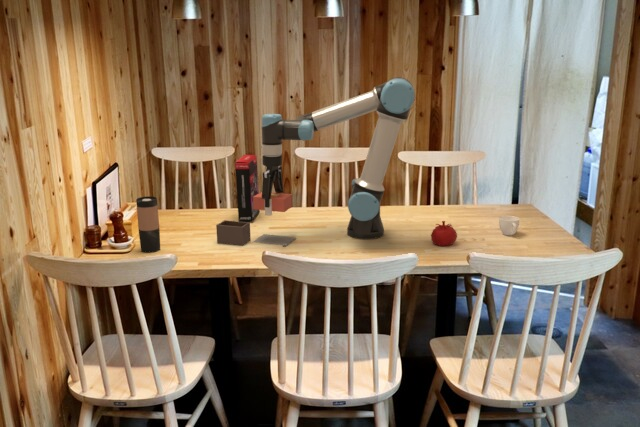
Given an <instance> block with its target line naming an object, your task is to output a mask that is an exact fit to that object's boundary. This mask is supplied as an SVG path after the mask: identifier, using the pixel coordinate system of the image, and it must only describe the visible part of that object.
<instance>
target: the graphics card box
mask: <svg viewBox="0 0 640 427" xmlns="http://www.w3.org/2000/svg"><path fill="white" fill-rule="evenodd" d="M234 166H235V167H234V168H235V184H236V198H237V200H236V201H237V214H238V218H237V219H238V222H249V223H253V222H254V221H255V219H256V218H257V217H258V215H259V213H260V211H261V210H255V209H253V197H254V196H255V195H257V194H259V193H260V192H259V178H258V157H257V155H255V154H243V155H242V156H241V157H239V158H238V159H237V160H235V161H234Z"/></svg>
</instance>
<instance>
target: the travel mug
mask: <svg viewBox="0 0 640 427" xmlns="http://www.w3.org/2000/svg"><path fill="white" fill-rule="evenodd" d="M157 198H158V197H156V196H147V195H146V196H141V197H137V198H136V200H135V202H136V212H137V215H136V216H137V226H138V235H139V236H138V237H139V244H140V250H141V252H142V253H146V254H147V253H149V254H150V253H156V252H159V251H160V250H161V235H160V233H161V232H160V230H161V229H160V220H159V219H160V218H159V207H158V199H157Z"/></svg>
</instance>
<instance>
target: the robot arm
mask: <svg viewBox="0 0 640 427" xmlns="http://www.w3.org/2000/svg"><path fill="white" fill-rule="evenodd" d="M415 98H416V94H415V89H414V86H413V85H412V82H410V81H409V80H408V79H406V78H405V77H402V76H401V77H400V76H397V77H392V78H390V79H389V80H387V81H385V82H383V83H381V84H379V85H377V86H373V89H372V90H370V91H368V92H364V93H362V94H359V95H356V96H354V97H350V98H348V99H345V100H341V101H339V102H337V103H333V104H331V105H328V106H325V107H322V108H319V109H317V110H314V111H312V112H309V113H306V114H301V115H299V116H297V117H296V118H295V119H284V118H282V114H280V113H265V114H263V115H262V117H261V144H262V145H261V148H262V149H261V150H262V151H261V153H262V156H261V157H262V158H261V159H262V165H263V166H265V167H266V168H265V169H266V170H265V171H264V172H262V184H261V186H262V188H261V192H262V199H264V200H265V210H264V216H270V217H272V216H273V211H272V199H271V193H273V189H274V193H283V194H284V191H285V190H284V182H283V180H284V179H283V167H282V165H283V156H282V154H283V140H284V141H287V140H288V141H302V142H304V141H312V140H313V138H314V135H315V134H314V133H315V132H318V131H320V130H322V129H326V128H330V127H332V126H335V125H337V124H341V123H343V122H345V121H348V120H352V119H355V118H357V117H361V116H364V115H367V114H371V113H372V112H375V111H376V113H377V115H378V118H377V122H376V125H375V128H374V131H373V135H372V138H371V140H370V141H371V142H370V145H369V148H368V151H367V155H366V157H365V161H364V164H363V168H362V172H361V174H360V177H359V178H353V179H352V180H351V184H350V186H351V193H350V197H349V198H348V202H347V209H348V212H349V214H350V215H351V216H350V219H349V222H348V225H347V228H346V234H347V236H349V237H351V238H353V239H360V240H374V239H380V238H381V237H384V235H385V227H384V224H383V222H382V218H381V202H382V199H383V196H384V193H385V186H384V185H383V182H384V179H385V176H386V174H387V170H388V167H389V164H390V160H391V157H392V154H393V151H394V149H395V148H394V147H395V144H396V142H397V138H398V135H399V132H400V129H401V125H402V123H404V122H406V121H407V120H408V118H409V117H408V116H409V114H410V111H411V107H412V106H413V104H414V101H415Z"/></svg>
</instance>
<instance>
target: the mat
mask: <svg viewBox="0 0 640 427" xmlns="http://www.w3.org/2000/svg"><path fill="white" fill-rule="evenodd" d="M296 239H297V237H296V236H295V237H294V236H287V235H276V234H267V233H266V234H265V233H263V234H262V235H260V236H259V237H258V238H256V239H255V240H253V241H252V243H258V244H268V245H274V246H275V245H276V246H281V247H282V248H283V247H284V248H287V247H288V246H289V245H290V244H291V243H293V241H295V240H296Z"/></svg>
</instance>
